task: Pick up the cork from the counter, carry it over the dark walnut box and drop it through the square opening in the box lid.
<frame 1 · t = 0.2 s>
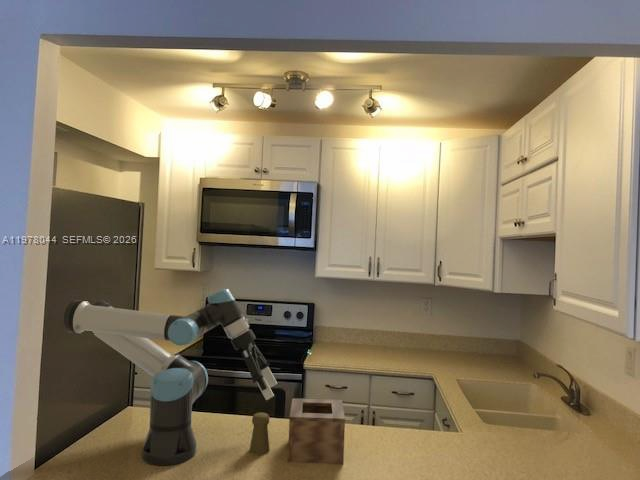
hand: (272, 391, 146), 15 cm above the table, tool tilted 30°, fingers open, 13 cm apart
walnut box: (315, 450, 138), on the table
cork: (259, 450, 137), on the table
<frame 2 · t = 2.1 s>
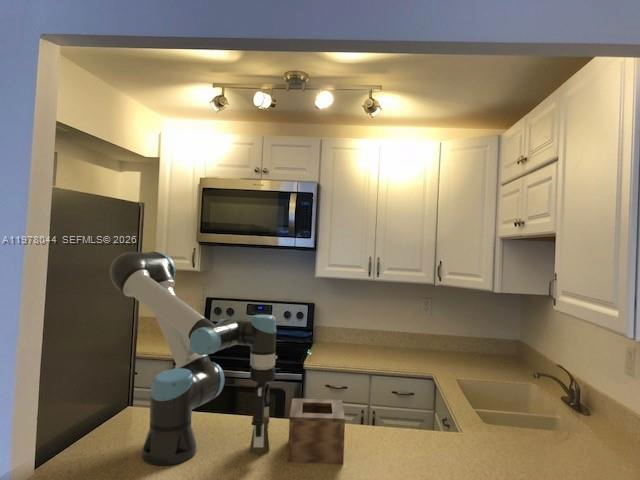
hand: (261, 437, 137), 4 cm above the table, tool pointing down, fingers open, 13 cm apart
nothing on the table moved.
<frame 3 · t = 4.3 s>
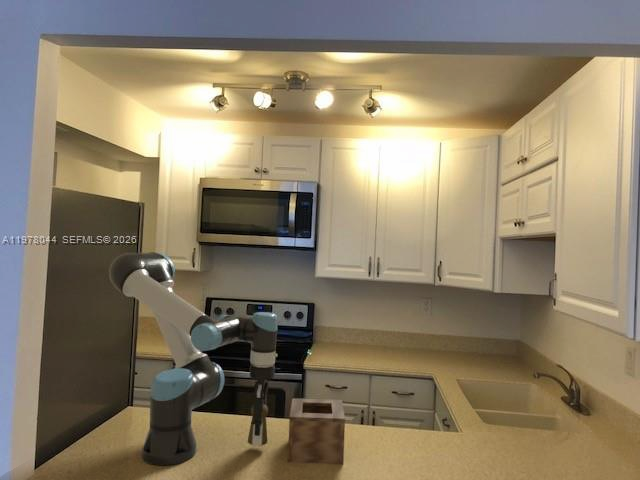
hand: (258, 440, 138), 3 cm above the table, tool pointing down, fingers closed on cork, 6 cm apart
cork: (257, 441, 138), point 2 cm above the table, touching gripper
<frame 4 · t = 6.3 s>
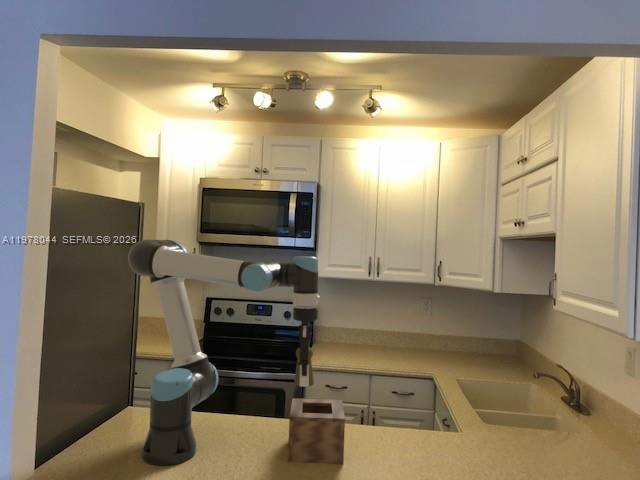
hand: (304, 382, 138), 21 cm above the table, tool pointing down, fingers closed on cork, 6 cm apart
cork: (303, 384, 138), point 20 cm above the table, touching gripper
when the fingers open (14 cm above the table, at t = 8.4 s): cork drops 13 cm, resting on walnut box.
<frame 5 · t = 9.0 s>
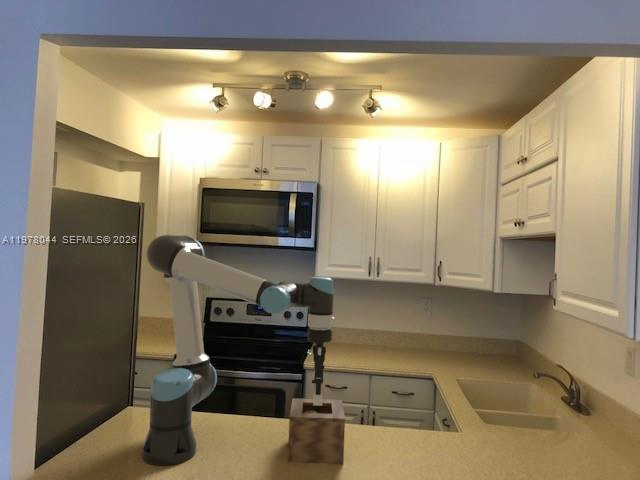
hand: (317, 397, 139), 16 cm above the table, tool pointing down, fingers open, 13 cm apart
cork: (312, 448, 138), point 1 cm above the table, touching walnut box
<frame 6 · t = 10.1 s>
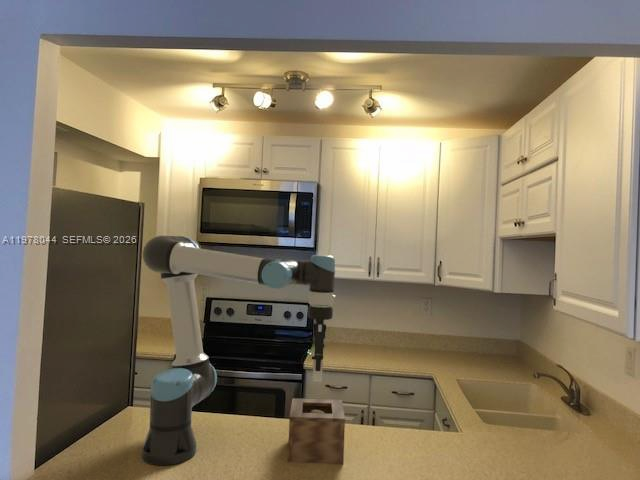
hand: (317, 374, 139), 23 cm above the table, tool pointing down, fingers open, 13 cm apart
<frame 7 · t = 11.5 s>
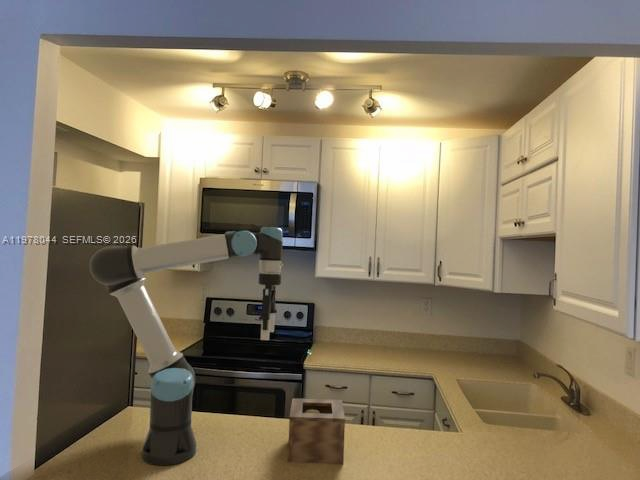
hand: (267, 335, 153), 32 cm above the table, tool pointing down, fingers open, 13 cm apart
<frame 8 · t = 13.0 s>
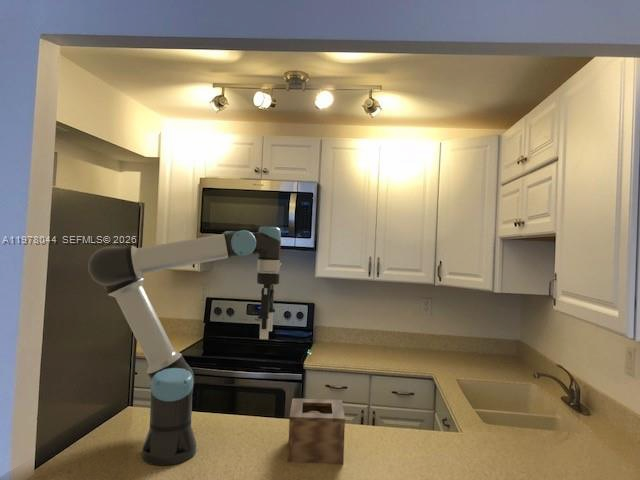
hand: (266, 335, 154), 32 cm above the table, tool pointing down, fingers open, 13 cm apart
at the end: cork inside the target area on the walnut box (1.1 cm from its centre), point 0.4 cm above the walnut box's base; the gripper is holding nothing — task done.
